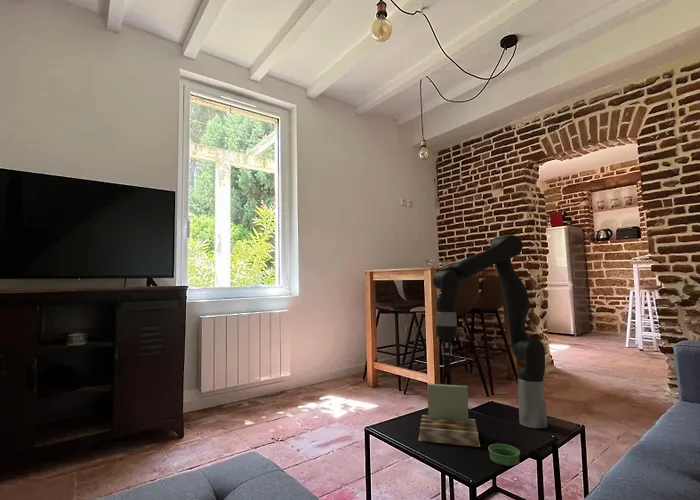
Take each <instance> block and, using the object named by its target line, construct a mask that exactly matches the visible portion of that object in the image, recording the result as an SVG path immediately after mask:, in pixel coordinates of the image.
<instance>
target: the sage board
mask: <svg viewBox="0 0 700 500" xmlns="http://www.w3.org/2000/svg"><path fill="white" fill-rule="evenodd" d="M468 390H469V389H468V385H459V384H457V385H455V384H441V383H439V384H438V383H427V405H428V407H427V415H428V419H431V420H440V419H447V420H458V421H463V422H465V423H469V422H468V419H469V395H468V394H469V391H468Z"/></svg>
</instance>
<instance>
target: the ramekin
mask: <svg viewBox="0 0 700 500" xmlns="http://www.w3.org/2000/svg"><path fill="white" fill-rule="evenodd" d="M488 453H489V459H490V460H491V461H492V462H494V463H496V464H498V465H501V466H502V465H503V466H507V467H511V466H517V465H518V464H519V463H520V456H521V451H520V449H518V448H516V447H515V446H513V445H509V444H505V443H493V444H490V445H488Z"/></svg>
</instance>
